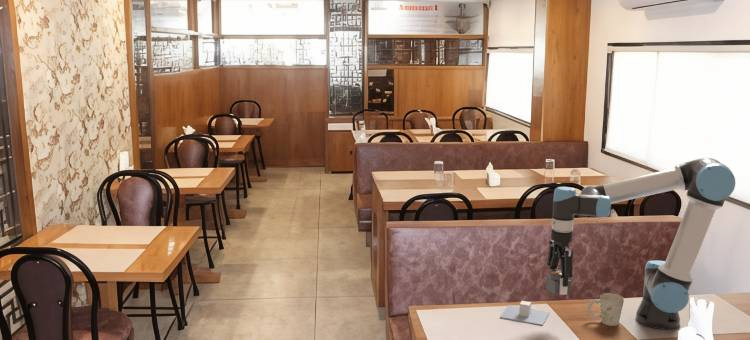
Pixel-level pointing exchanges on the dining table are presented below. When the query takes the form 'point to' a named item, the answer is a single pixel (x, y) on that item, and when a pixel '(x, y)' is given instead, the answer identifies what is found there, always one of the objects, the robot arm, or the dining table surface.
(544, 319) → the shaft board
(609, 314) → the mug
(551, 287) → the knob
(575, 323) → the dining table surface
